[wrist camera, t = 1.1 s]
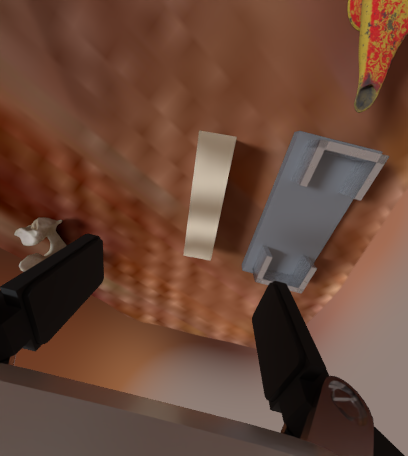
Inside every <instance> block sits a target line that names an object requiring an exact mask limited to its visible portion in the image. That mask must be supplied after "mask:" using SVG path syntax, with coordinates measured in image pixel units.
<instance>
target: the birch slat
mask: <svg viewBox="0 0 408 456" xmlns="http://www.w3.org/2000/svg"><path fill="white" fill-rule="evenodd" d="M236 138H237V137H234V136H228V135H222V134H216V133H211V132H205V131H199V137H198V145H197V153H196V161H195V169H194V177H193V185H192V192H191V200H190V208H189V216H188V224H187V232H186V240H185V248H184V255H185V256H190V257H195V258H200V259H206V260H211V257H212V252H213V247H214V242H215V238H216V233H217V228H218V223H219V218H220V214H221V209H222V204H223V199H224V195H225V190H226V185H227V180H228V176H229V171H230V166H231V161H232V157H233V152H234V147H235V142H236Z"/></svg>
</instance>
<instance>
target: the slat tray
mask: <svg viewBox="0 0 408 456" xmlns="http://www.w3.org/2000/svg"><path fill="white" fill-rule="evenodd" d="M318 139H323V140H327V141H331V142H335V143H339V144H343V145H347V146H351V147H355V148H359V149H363V150H366V151H370V152H374V153H378V154H382V152H381V151H377V150H373V149H369V148H365V147H361V146H357V145H353V144H349V143H345V142H341V141H337V140H333V139H329V138H325V137H322V136H318V135H314V134H310V133H306V132H302V131H297V132H295V133H294V135H293V138H292V140H291V143H290V145H289V148H288V150H287V153H286V155H285V158H284V160H283V163H282V165H281V168H280V170H279V173H278V175H277V178H276V180H275V183H274V185H273V188H272V190H271V193H270V195H269V198H268V200H267V203H266V205H265V208H264V210H263V213H262V215H261V218H260V221H259V223H258V226H257V228H256V231H255V233H254V236H253V238H252V241H251V243H250V246H249V248H248V251H247V253H246V256H245V258H244V261H243V263H242V270H243V271H247V272H251V273H253V271H252V268H253V266H254V264H255V261H256V259H257V257H258V255H259V252H260V250H261V248H262V245H264V246H268V248H269V251H270V253H271V255H272V257H273V258H272V260H271V262H270V264H269V266H268V268H267V269H270V270H274V271H278V272H282V273H286V274H290V275H292V273H293V271H294V270H295V268H296V266H297V264H298V263H299V261H300V259H301V257H302V256H303V255H304V256H308V257H309V259H310V260H311V261H312V263H313V264H314V262H315V260H316V259H317V257H318V255H319V254H320V252H321V251H322V249H323V247H324V246H325V244H326V243H327V241H328V239H329V238H330V236H331V234H332V233H333V231H334V230H335V228H336V226H337V225H338V223H339V222H340V220H341V218H342V217H343V215H344V214H345V212H346V210H347V209H348V207H349V205H350V204H351V202H352V201H353V198H351V197H348V196H345V195H343V194H340V193H339V191H340V189H341V187H342V186H343V184H344V182H345V180H346V179H347V177H348V175H349V173H350V172H351V170H352V168H353V166H354V165H355V163H356V160H352V159H348V158H344V157H340V156H336V155H332V154H328V153H324V152H323V154H322V157H321V159H320V161H319V163H318V165H317V167H316V169H315V171H314V173H313V175H312V177H311V179H310V181H309V183H308V185H307V187H305V186H301V185H298V184H296V183H294V182H292V181H291V179H292V177H293V174H294V172H295V170H296V168H297V165H298V163H299V161H300V158H301V156H302V154H303V152H304V149H305V147H306V145H307V142H308V140H318Z"/></svg>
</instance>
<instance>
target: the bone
mask: <svg viewBox="0 0 408 456" xmlns="http://www.w3.org/2000/svg"><path fill="white" fill-rule="evenodd" d="M60 223H62V220H59V221H56V220H53V219H50V218H38V219H37V220H36V221H34V222H33V223H32V225H29V226H28V227H26V228H19V229H18V230H17V231H16V232H15V235H16V236H18V237H20V239H21V241H22V243H23V245H26V246H31V245H35V244H38V243H39V242H41V241H42V240H44V239H45V237H48V239H49V241H50V246H51V247H50V250H49V252H48V253H47V254H45V255H44V256H42V255H41V254H39V253H36V254H33V255H28V256H27V257H26V258H25V259H24V260H22V261H21V262H20V264H19V267H20V270H22V271H24V272H25V271H26V270H28V269H30V268H31V267H33V266H35V265H36V264H38V263H40V262H41V261H43V260H44V259H46V258H48V257H49V256H51V255H53V254H54V253H56V252H57V251H59V250H61V249H62V248H64V247H66V244H65V243H64V242H63V240H62V239H61V238H60V236H59V235H58V234H57V232H56V227H57V225H58V224H60Z"/></svg>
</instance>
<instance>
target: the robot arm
mask: <svg viewBox="0 0 408 456" xmlns="http://www.w3.org/2000/svg"><path fill="white" fill-rule="evenodd" d="M103 279H104V267H103V241H102V240H101V239H100V237H99V236H96V235H92V234H85V235H83V236H82V237H80V238H79V239H77V240H75V241H74V242H72V243H70V244H69V245H67V246H66V247H64V248H62V249H61V250H59V251H57V252H56V253H54V254H53V255H51V256H49V257H48V258H46V259H44V260H43V261H41V262H40V263H38V264H36V265H35V266H33V267H31V268H30V269H28V270H26V271H25V272H23V273H22V274H20V275H18V276H17V277H15V278H14V279H12V280H10V281H9V282H7V283H5V284H4V285H2V286H1V287H0V289H1V290H0V456H404V455H403V454H402V453H401V452H400V451H399V450H398V449H397V448H396V447H395V446H394V445H393V444H392V443H391V442H390V441H389V440H388V439H387V438H386V437H385V436H384V435H383V434H381V432H380V431H378V430H377V429H376V428H375V427H374V423H373V417H372V415H371V412H370V410H369V408H368V406H367V405H366V403H365V401H364V400H363V399H362V397H361V396H360V395H359V394H358V392H357V391H356V390H355V389H354V388H353V387H352V386H350V385H349V384H348V383H347V382H345V381H344V380H342V379H340V378H338V377H335V376H329V374H328V372H327V370H326V367H325V364H324V362H323V360H322V358H321V356H320V354H319V352H318V350H317V347H316V345H315V343H314V341H313V339H312V337H311V335H310V333H309V330H308V328H307V326H306V324H305V322H304V320H303V318H302V316H301V313H300V311H299V309H298V307H297V305H296V303H295V301H294V299H293V297H292V294H291V292H290V290H289V288H288V286H287V284H286V283H283V282H279V281H273V283H272V282H271V283H269V285H268V287H267V289H266V291H265V293H264V295H263V297H262V299H261V301H260V302H259V304H258V306H257V308H256V310H255V312H254V314H253V317H252V323H253V329H254V335H255V341H256V347H257V353H258V359H259V365H260V371H261V376H262V383H263V388H264V394H265V397H266V399H267V400H269V405H270V410H272V411H276V412H280V413H282V417H283V421H284V425H283V427H282V430H281V433H279V432H275V431H272V430H268V429H265V428H261V427H257V426H254V425H250V424H247V423H243V422H239V421H235V420H231V419H227V418H223V417H219V416H215V415H212V414H207V413H204V412H200V411H196V410H192V409H188V408H184V407H180V406H176V405H172V404H168V403H164V402H160V401H156V400H152V399H148V398H144V397H140V396H136V395H132V394H128V393H124V392H120V391H116V390H112V389H108V388H104V387H100V386H96V385H91V384H87V383H84V382H79V381H75V380H71V379H67V378H63V377H59V376H55V375H51V374H47V373H42V372H38V371H34V370H30V369H26V368H21V367H17V366H14V362H15V357H16V353H17V352H18V351H19V350H20V349H22V348H24V349H28V350H32V351H36V350H37V349H38V348H39V347H40V346H41V345H42V344H45V343H47V342H48V341H49V340H50V339H51V338H52V337H53V336H54V335H55V334H56V333H57V331H59V329H60V328H61V327H62V326H63V325H64V324H65V323H66V322H67V321H68V319H69V318H70V317H71V316H72V315H73V314H74V313H75V312H76V311H77V310H78V309H79V307H80V306H81V305H82V304H83V303H84V302H85V301H86V300H87V299H88V297H90V295H91V294H92V293H93V292H94V291H95V290H96V289H97V288H98V287H99V286H100V284H101V283H102V282H103Z"/></svg>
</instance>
